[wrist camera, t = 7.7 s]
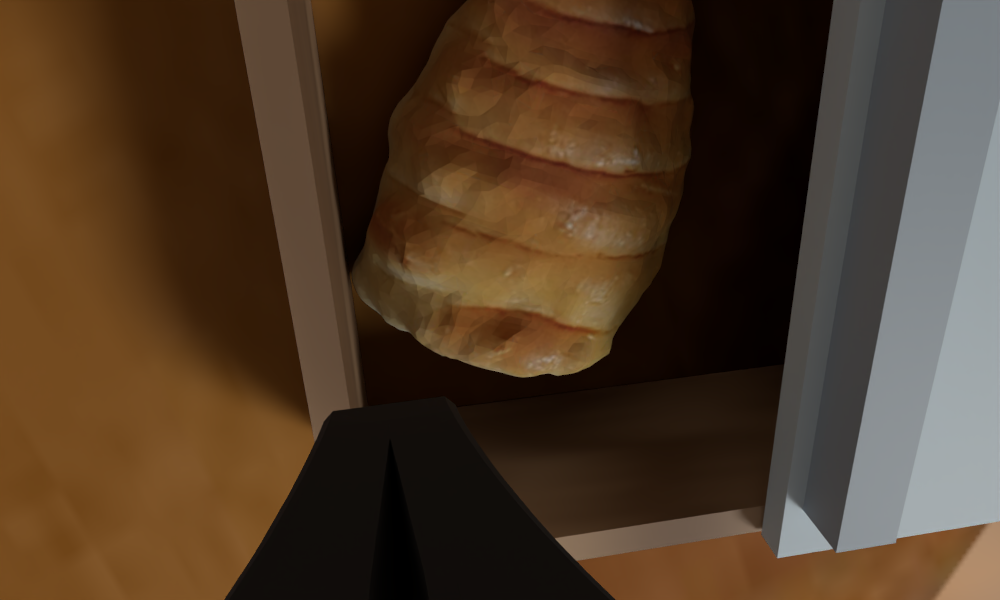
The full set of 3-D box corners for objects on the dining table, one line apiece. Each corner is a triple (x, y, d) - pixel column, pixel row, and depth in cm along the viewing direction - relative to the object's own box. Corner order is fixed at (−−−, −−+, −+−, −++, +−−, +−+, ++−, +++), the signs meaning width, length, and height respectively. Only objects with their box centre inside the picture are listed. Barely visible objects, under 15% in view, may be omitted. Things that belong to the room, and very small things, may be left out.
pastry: (444, -138, 15) (472, -158, 12) (740, -32, 17) (838, -22, 14) (342, 290, 18) (341, 371, 15) (598, 339, 20) (648, 421, 17)
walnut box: (346, 444, 20) (343, 597, 15) (250, -150, 14) (199, -190, 10) (825, 379, 22) (951, 500, 17) (916, -173, 16) (1144, -217, 11)
